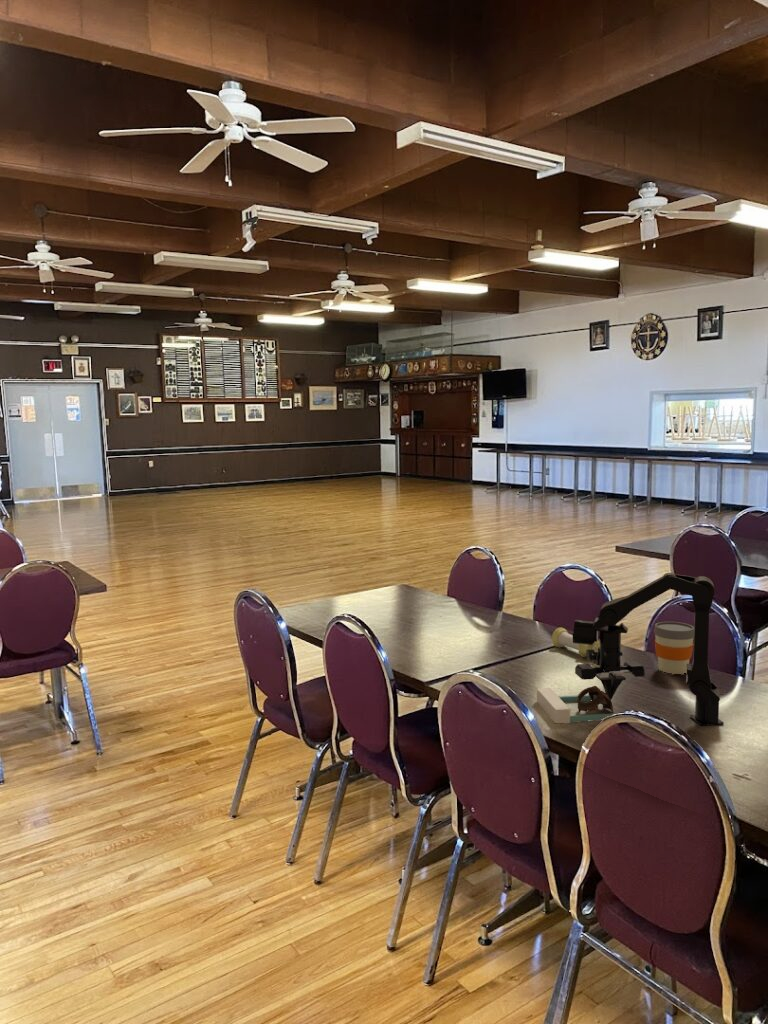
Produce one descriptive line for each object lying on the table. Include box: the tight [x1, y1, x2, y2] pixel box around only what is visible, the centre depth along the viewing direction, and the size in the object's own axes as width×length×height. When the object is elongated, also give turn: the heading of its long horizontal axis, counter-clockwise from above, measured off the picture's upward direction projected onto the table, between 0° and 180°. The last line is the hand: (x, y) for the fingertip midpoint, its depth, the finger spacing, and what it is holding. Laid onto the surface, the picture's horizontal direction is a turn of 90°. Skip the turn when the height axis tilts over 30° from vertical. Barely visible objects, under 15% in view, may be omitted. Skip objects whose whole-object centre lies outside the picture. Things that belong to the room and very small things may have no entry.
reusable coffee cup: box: [653, 621, 694, 675], centre depth 244 cm, size 13×13×15 cm
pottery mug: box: [576, 685, 615, 714], centre depth 210 cm, size 12×10×8 cm
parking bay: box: [536, 687, 615, 724], centre depth 211 cm, size 17×20×4 cm
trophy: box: [551, 627, 623, 658], centre depth 261 cm, size 8×8×30 cm
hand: (609, 699), depth 212 cm, fingers closed
